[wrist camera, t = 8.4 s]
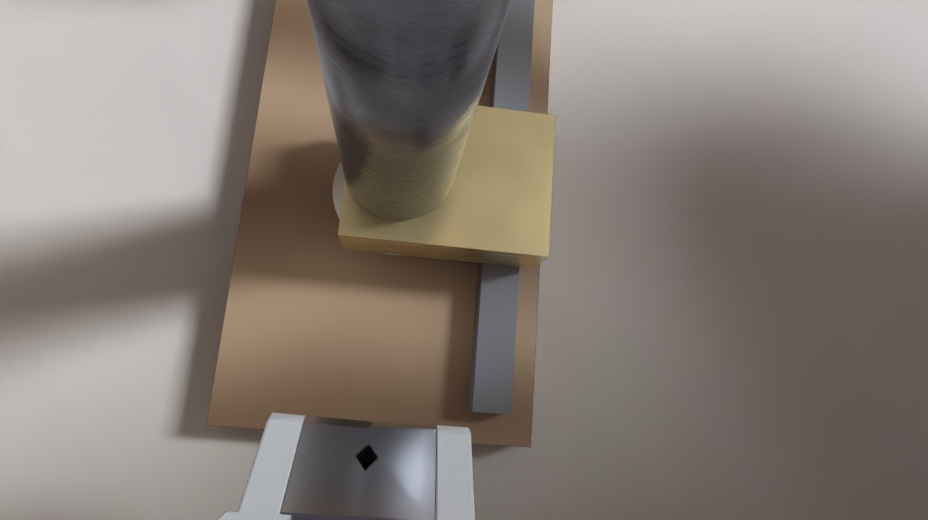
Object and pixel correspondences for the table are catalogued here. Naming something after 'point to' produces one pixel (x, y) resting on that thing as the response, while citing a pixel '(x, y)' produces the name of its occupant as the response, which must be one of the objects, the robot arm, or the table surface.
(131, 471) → the table surface
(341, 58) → the sliding leg
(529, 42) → the wooden peg board
